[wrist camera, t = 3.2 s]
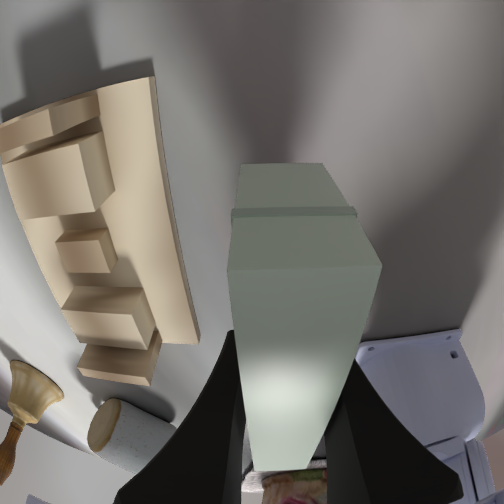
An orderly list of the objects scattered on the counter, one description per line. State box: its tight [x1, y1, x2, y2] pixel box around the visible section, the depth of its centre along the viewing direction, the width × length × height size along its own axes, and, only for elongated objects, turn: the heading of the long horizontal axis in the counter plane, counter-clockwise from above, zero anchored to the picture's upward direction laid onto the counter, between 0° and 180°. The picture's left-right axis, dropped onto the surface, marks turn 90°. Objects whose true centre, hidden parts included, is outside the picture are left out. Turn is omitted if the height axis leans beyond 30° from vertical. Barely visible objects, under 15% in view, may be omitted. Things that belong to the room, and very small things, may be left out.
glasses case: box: [227, 163, 382, 471], centre depth 10 cm, size 2×12×5 cm, turn 2°
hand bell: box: [0, 360, 64, 485], centre depth 21 cm, size 8×8×16 cm
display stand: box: [0, 76, 201, 386], centre depth 14 cm, size 10×16×4 cm, turn 3°
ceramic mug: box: [87, 398, 177, 474], centre depth 26 cm, size 11×8×8 cm
